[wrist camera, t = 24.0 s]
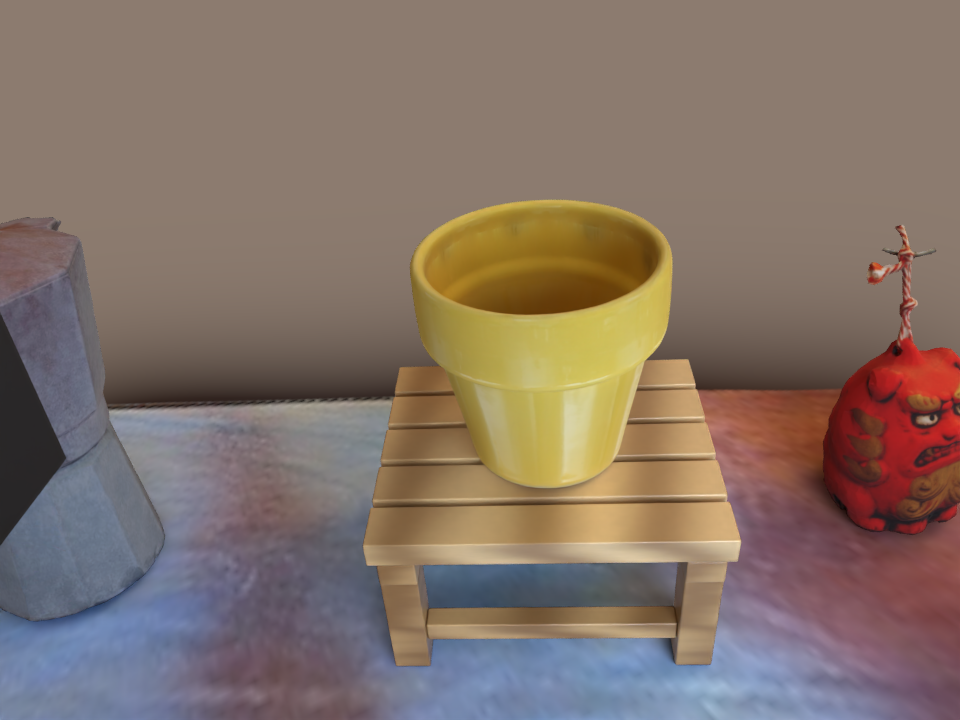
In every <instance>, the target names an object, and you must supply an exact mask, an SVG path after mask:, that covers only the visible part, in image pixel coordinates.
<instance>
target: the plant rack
mask: <svg viewBox="0 0 960 720" xmlns="http://www.w3.org/2000/svg"><path fill="white" fill-rule="evenodd" d="M704 421H705V415H704V412H703V409H702V405H701V402H700V398H699V395H698V391H697V390H696V389H695V381H694V378H693V374H692V371H691V367H690V364H689V361H688V359H681V360H645V362H644V365H643V369H642V372H641V376H640V379H639V382H638V386H637V389H636V393H635V396H634V400H633V403H632V407H631V410H630V414H629V417H628V421H627V424H626V428H625V431H624V435H623V439H622V442H621V446H620V449H619V452H618V454H617V456H616V457H615V459H614V460H613V462H612V463H611V464H610V465H609V466H608V467H607V468H606V469H605V470H604V471H602V472H601V473H600V474H598V475H597V476H595V477H593V478H591V479H589V480H586V481H584V482H581V483H578V484H575V485H571V486H567V487H561V488H534V487H527V486H523V485H519V484H515V483H512V482H510V481H507V480H505V479H503V478H501V477H499V476H497V475H496V474H495V473H493V472H492V471H491V470H489V469H488V468H487V467H486V466H485V465H484V463H483V462H482V461H481V459H480V458H479V456H478V454H477V452H476V450H475V447H474V445H473V442H472V439H471V436H470V434H469V431H468V428H467V425H466V423H465V420H464V417H463V415H462V412H461V410H460V407H459V404H458V402H457V399H456V397H455V394H454V392H453V389H452V387H451V384H450V382H449V379H448V377H447V374H446V372H445V369H444V368H443V367H441V366H432V367H431V366H429V367H401V368H400V369H399V374H398V379H397V384H396V389H395V397H394V398H393V403H392V408H391V413H390V417H389V422H388V427H389V430H387V432H386V436H385V441H384V446H383V451H382V456H381V466H382V467H379V471H378V475H377V480H376V485H375V490H374V495H373V499H372V502H373V507H374V508H371V509H370V513H369V518H368V523H367V528H366V532H365V537H364V542H363V550H364V555H365V560H366V565H367V566H377V571H378V577H379V582H380V585H381V590H382V595H383V600H384V605H385V611H386V616H387V621H388V626H389V631H390V637H391V642H392V647H393V652H394V657H395V663H396V666H430V665H431V656H432V646H433V639H546V638H671V643H672V649H673V654H674V660H675V664H676V665H710V664H711V661H712V655H713V648H714V642H715V635H716V628H717V622H718V615H719V609H720V602H721V596H722V589H723V583H724V581H725V576H726V570H727V563H728V562H737V561H738V558H739V552H740V546H741V538H740V535H739V532H738V528H737V525H736V521H735V518H734V515H733V511H732V508H731V504H730V502H727V495H728V494H727V491H726V488H725V484H724V481H723V477H722V474H721V470H720V467H719V464H718V461H717V460H715V455H716V453H715V449H714V446H713V443H712V439H711V436H710V432H709V429H708V425H707V423H704ZM652 562H678V567H677V577H676V586H675V596H674V605H673V606H626V607H497V608H429V603H428V596H427V590H426V583H425V576H424V569H423V565H476V564H564V563H652Z"/></svg>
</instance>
